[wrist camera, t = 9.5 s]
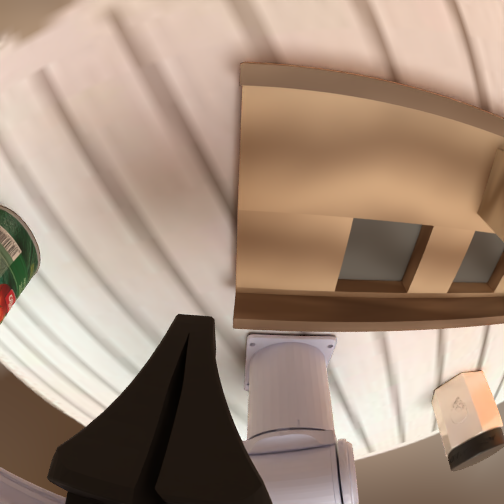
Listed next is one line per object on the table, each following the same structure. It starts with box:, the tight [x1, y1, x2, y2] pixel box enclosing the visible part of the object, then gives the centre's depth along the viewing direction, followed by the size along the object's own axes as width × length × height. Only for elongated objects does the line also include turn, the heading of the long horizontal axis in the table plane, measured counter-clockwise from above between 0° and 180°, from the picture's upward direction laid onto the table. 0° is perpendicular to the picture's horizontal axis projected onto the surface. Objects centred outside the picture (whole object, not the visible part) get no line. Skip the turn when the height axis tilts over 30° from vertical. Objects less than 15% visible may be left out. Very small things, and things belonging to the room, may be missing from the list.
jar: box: [432, 371, 504, 471], centre depth 30 cm, size 9×8×12 cm
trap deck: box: [233, 62, 504, 332], centre depth 18 cm, size 16×26×4 cm, turn 87°
